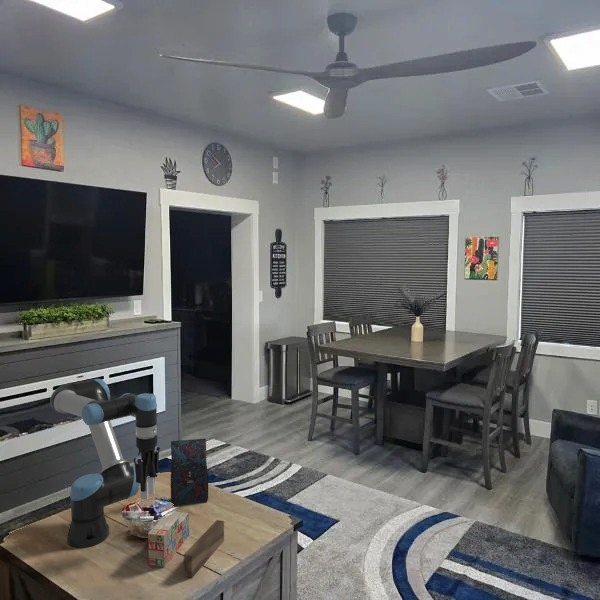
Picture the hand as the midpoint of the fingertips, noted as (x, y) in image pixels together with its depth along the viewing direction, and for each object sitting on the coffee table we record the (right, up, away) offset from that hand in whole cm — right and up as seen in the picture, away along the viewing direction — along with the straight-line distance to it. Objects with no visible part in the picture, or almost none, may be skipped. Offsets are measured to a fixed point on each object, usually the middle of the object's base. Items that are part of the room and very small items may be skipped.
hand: (148, 496), depth 192 cm
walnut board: (+23, -20, -6) cm, 31 cm away
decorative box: (+8, -17, +38) cm, 42 cm away
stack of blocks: (+9, -20, -1) cm, 22 cm away
